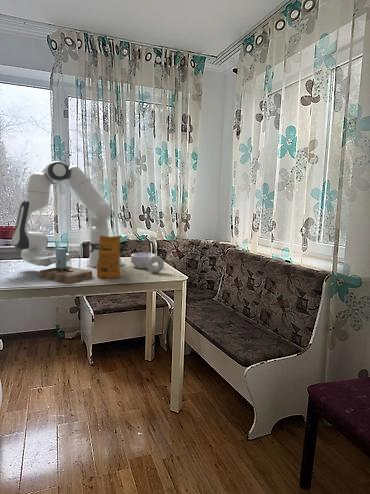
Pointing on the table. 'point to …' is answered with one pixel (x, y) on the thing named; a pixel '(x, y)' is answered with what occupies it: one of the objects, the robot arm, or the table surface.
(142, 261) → the paper bowls
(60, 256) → the keyhole peg
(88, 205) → the robot arm
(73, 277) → the keyhole board
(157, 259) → the donut
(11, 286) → the table surface
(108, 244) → the coffee package
